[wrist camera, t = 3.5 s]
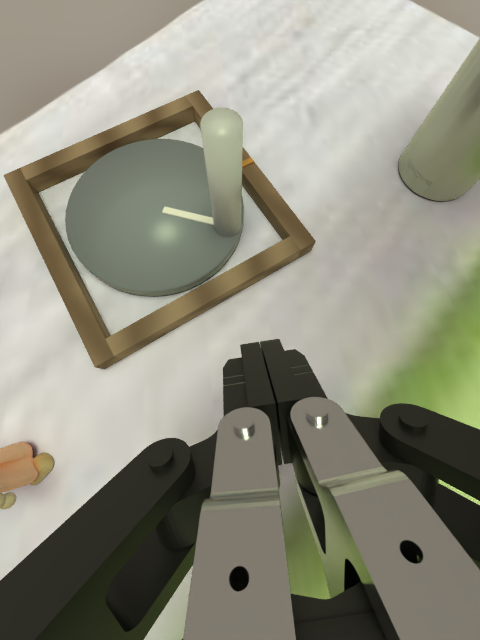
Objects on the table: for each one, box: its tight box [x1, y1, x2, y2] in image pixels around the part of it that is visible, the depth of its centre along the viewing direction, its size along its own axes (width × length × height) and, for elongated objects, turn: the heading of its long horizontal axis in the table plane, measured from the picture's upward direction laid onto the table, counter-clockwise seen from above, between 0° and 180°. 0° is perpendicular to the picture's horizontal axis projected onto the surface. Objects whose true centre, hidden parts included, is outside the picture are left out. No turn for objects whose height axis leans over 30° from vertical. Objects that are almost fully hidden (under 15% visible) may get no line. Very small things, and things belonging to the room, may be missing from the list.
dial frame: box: [4, 90, 316, 369], centre depth 32 cm, size 26×26×2 cm
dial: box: [65, 108, 243, 296], centre depth 27 cm, size 20×20×14 cm
